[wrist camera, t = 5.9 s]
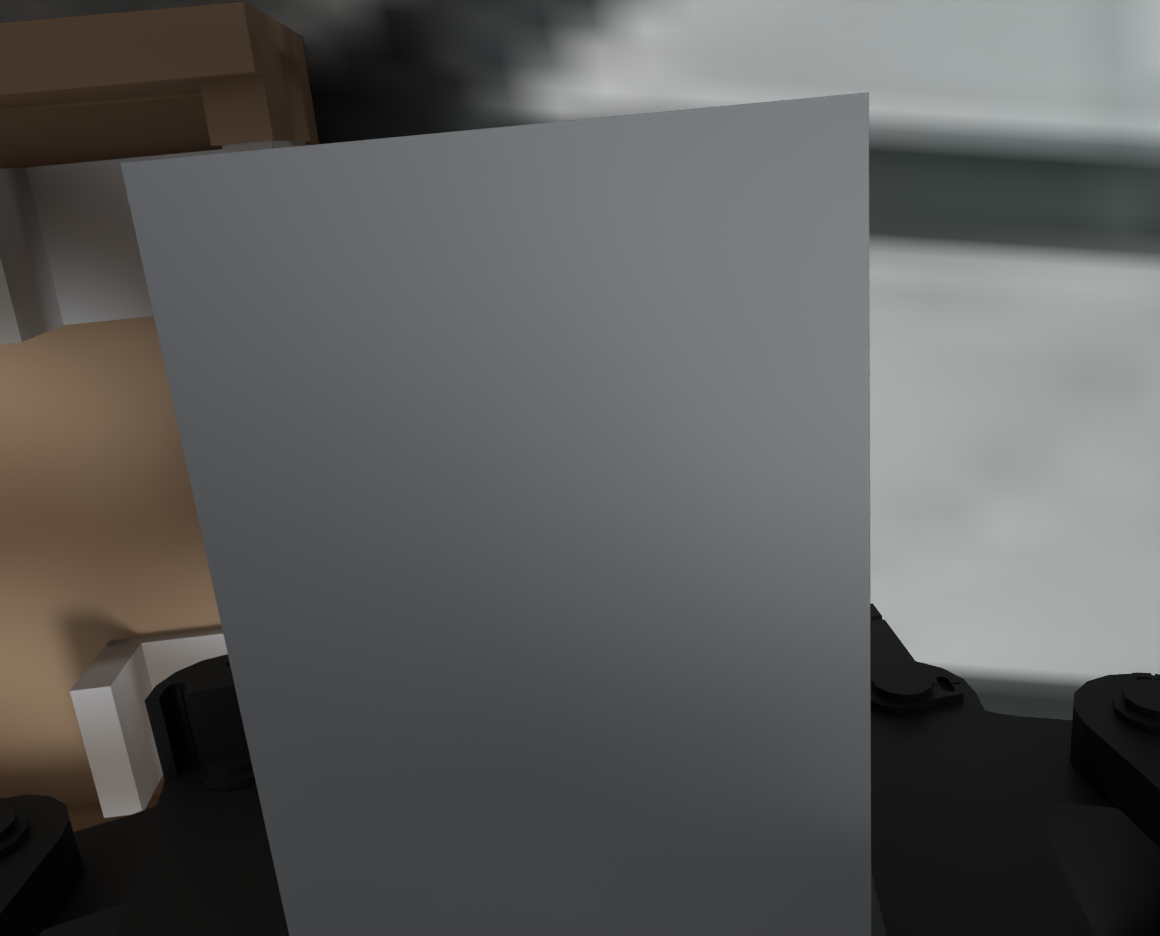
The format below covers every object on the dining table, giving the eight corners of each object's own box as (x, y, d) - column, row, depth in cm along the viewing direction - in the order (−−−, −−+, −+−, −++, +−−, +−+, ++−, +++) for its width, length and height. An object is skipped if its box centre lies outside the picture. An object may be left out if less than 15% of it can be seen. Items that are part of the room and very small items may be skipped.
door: (352, 149, 15) (-134, 187, 4) (617, 124, 16) (869, 91, 4) (454, 821, 19) (349, 1827, 8) (668, 799, 19) (872, 1761, 8)
